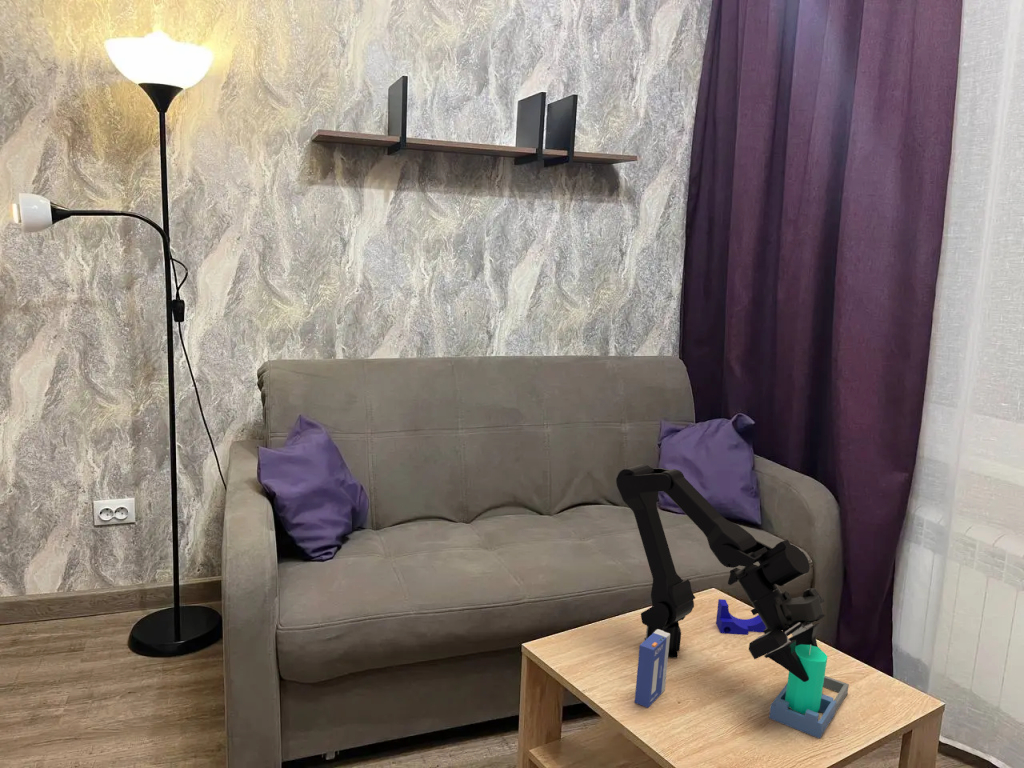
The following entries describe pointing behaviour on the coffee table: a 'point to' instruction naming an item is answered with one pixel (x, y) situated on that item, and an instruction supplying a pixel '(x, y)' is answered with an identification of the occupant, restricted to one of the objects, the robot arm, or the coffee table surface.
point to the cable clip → (736, 621)
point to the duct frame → (810, 719)
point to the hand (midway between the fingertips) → (814, 675)
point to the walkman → (652, 668)
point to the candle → (811, 690)
